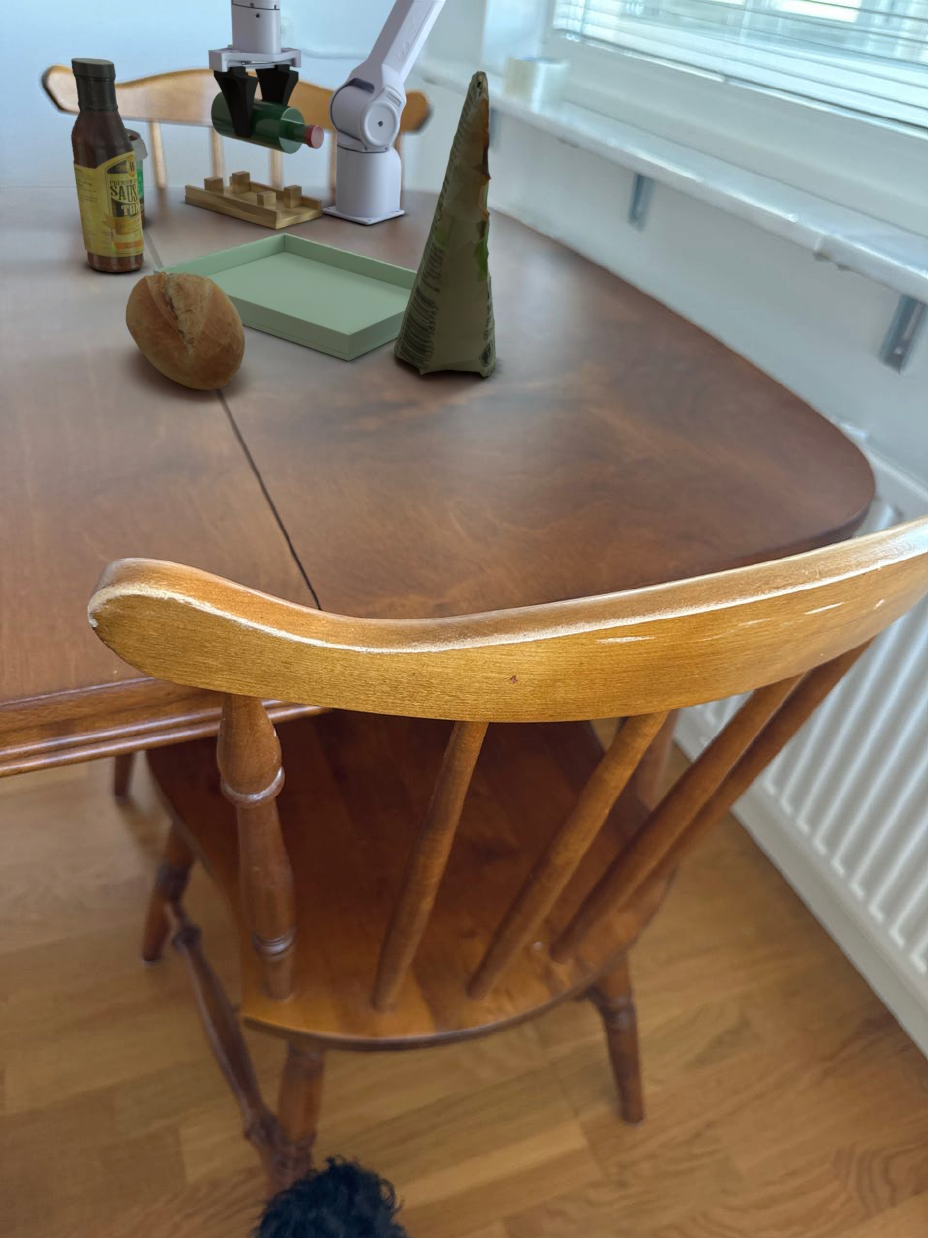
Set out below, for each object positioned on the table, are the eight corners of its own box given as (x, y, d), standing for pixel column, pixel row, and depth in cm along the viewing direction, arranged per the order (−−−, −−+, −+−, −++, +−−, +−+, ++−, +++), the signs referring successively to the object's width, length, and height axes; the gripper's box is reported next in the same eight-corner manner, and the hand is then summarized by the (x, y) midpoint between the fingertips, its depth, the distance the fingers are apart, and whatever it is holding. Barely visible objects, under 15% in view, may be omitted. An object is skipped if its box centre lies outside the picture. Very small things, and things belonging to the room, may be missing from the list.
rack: (234, 191, 130) (233, 165, 128) (322, 216, 125) (322, 189, 123) (184, 202, 123) (182, 175, 121) (276, 229, 118) (275, 200, 116)
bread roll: (155, 408, 74) (143, 313, 70) (116, 341, 84) (104, 253, 79) (266, 395, 79) (263, 304, 74) (217, 332, 89) (211, 249, 84)
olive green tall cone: (449, 332, 95) (475, 58, 80) (530, 373, 89) (576, 83, 73) (367, 352, 88) (378, 57, 73) (448, 397, 82) (478, 85, 67)
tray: (284, 254, 110) (283, 232, 108) (459, 307, 101) (461, 284, 100) (155, 294, 95) (152, 269, 93) (348, 361, 86) (349, 334, 85)
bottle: (239, 134, 118) (238, 89, 115) (330, 158, 113) (331, 111, 110) (211, 137, 115) (209, 91, 112) (304, 162, 110) (304, 114, 106)
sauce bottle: (129, 278, 98) (102, 67, 86) (76, 269, 98) (42, 58, 86) (157, 262, 103) (136, 61, 91) (106, 253, 104) (78, 52, 91)
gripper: (270, 1, 112) (271, 123, 121) (185, -1, 102) (194, 132, 110) (314, 10, 110) (313, 133, 118) (232, 9, 99) (237, 144, 108)
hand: (258, 134), depth 114 cm, fingers closed on bottle, 5 cm apart
